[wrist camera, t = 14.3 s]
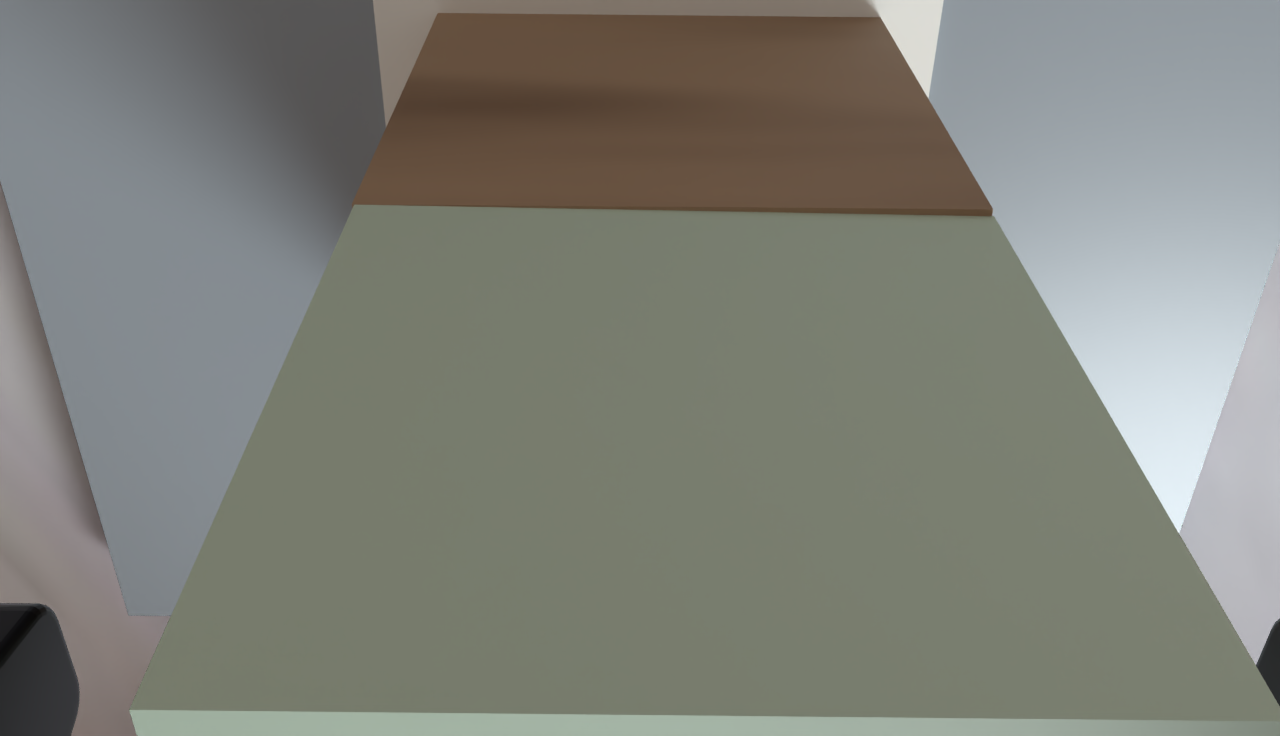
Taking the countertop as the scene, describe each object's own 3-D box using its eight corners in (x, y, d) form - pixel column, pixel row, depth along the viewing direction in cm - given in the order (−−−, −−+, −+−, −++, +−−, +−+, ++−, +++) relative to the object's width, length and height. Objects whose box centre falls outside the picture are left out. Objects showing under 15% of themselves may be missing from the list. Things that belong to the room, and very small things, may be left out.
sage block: (902, 664, 12) (1047, 1232, 8) (406, 658, 12) (289, 1232, 8) (994, 216, 9) (1288, 722, 5) (353, 204, 9) (131, 710, 5)
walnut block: (835, 384, 16) (907, 660, 12) (467, 382, 16) (410, 659, 12) (880, 17, 14) (994, 209, 9) (437, 12, 13) (351, 204, 9)
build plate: (1126, 579, 20) (1150, 628, 19) (149, 571, 20) (126, 620, 19) (1457, -447, 12) (1525, -448, 11) (-140, -482, 12) (-204, -489, 11)
